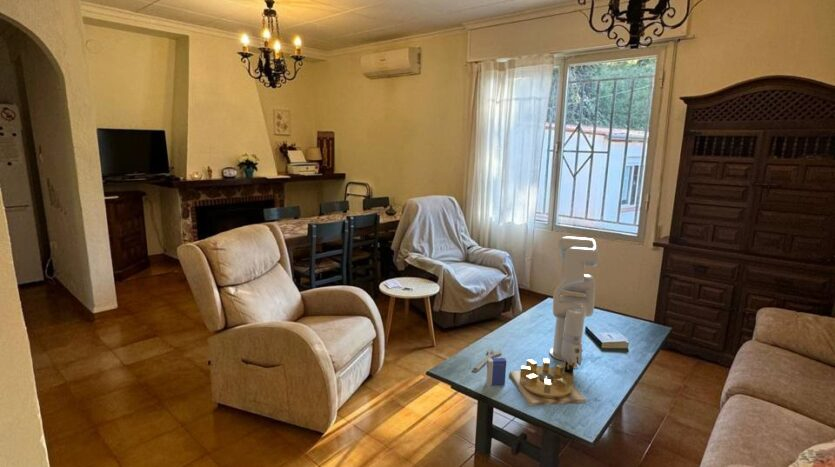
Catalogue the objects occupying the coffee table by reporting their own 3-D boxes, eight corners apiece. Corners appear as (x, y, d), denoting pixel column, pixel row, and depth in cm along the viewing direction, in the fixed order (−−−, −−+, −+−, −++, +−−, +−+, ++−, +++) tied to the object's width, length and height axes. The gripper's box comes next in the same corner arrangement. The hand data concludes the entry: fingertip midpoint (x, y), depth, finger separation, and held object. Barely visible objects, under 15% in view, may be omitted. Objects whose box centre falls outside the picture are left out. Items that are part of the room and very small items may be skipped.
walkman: (502, 381, 195) (504, 357, 192) (504, 385, 192) (506, 360, 189) (485, 382, 194) (487, 357, 191) (487, 385, 191) (488, 360, 189)
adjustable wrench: (476, 374, 202) (476, 370, 201) (464, 369, 206) (464, 365, 205) (503, 353, 220) (503, 350, 220) (491, 349, 224) (492, 346, 224)
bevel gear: (558, 369, 203) (559, 357, 201) (582, 397, 182) (583, 383, 180) (512, 372, 200) (513, 359, 198) (531, 400, 178) (532, 386, 177)
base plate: (559, 371, 204) (559, 368, 204) (585, 402, 181) (585, 398, 181) (509, 374, 201) (509, 371, 201) (529, 405, 178) (530, 402, 177)
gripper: (589, 344, 181) (585, 384, 185) (572, 329, 195) (568, 366, 199) (572, 345, 180) (568, 385, 184) (556, 329, 194) (552, 367, 198)
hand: (568, 375), depth 191 cm, fingers closed
